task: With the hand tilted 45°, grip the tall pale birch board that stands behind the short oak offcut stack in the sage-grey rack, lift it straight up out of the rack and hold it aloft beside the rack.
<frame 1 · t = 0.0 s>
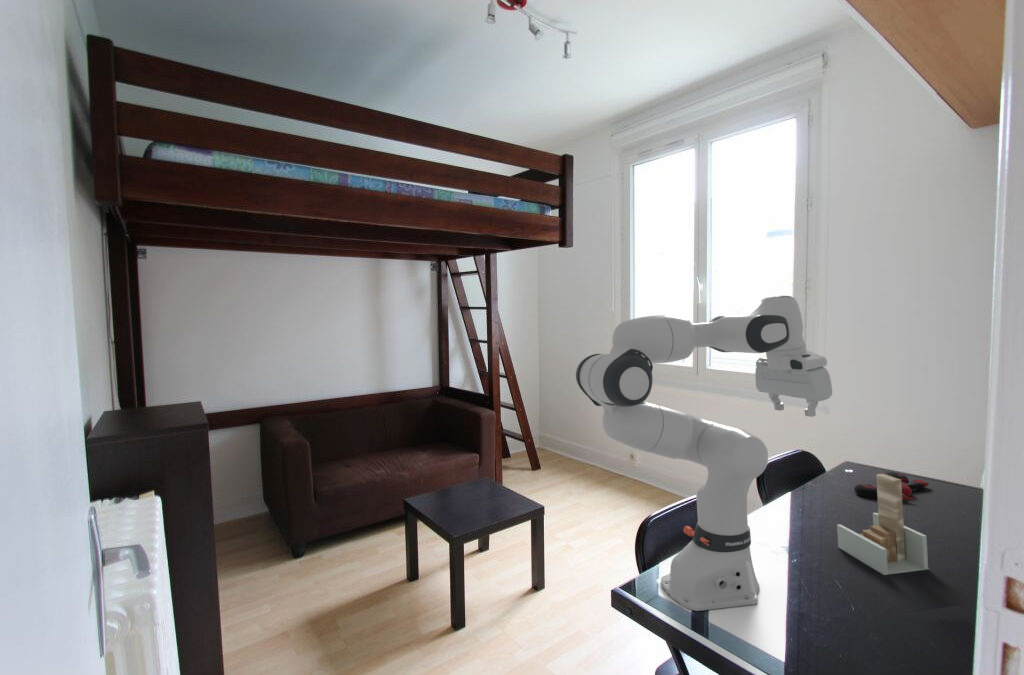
hand: (794, 412, 121), 39 cm above the table, tool pointing down, fingers open, 8 cm apart
toy motorcycle: (895, 493, 161), on the table
birch board: (892, 556, 120), point 1 cm above the table, touching offcut rack
offcut stack: (876, 558, 119), point 1 cm above the table, touching offcut rack
offcut rack: (881, 563, 119), on the table
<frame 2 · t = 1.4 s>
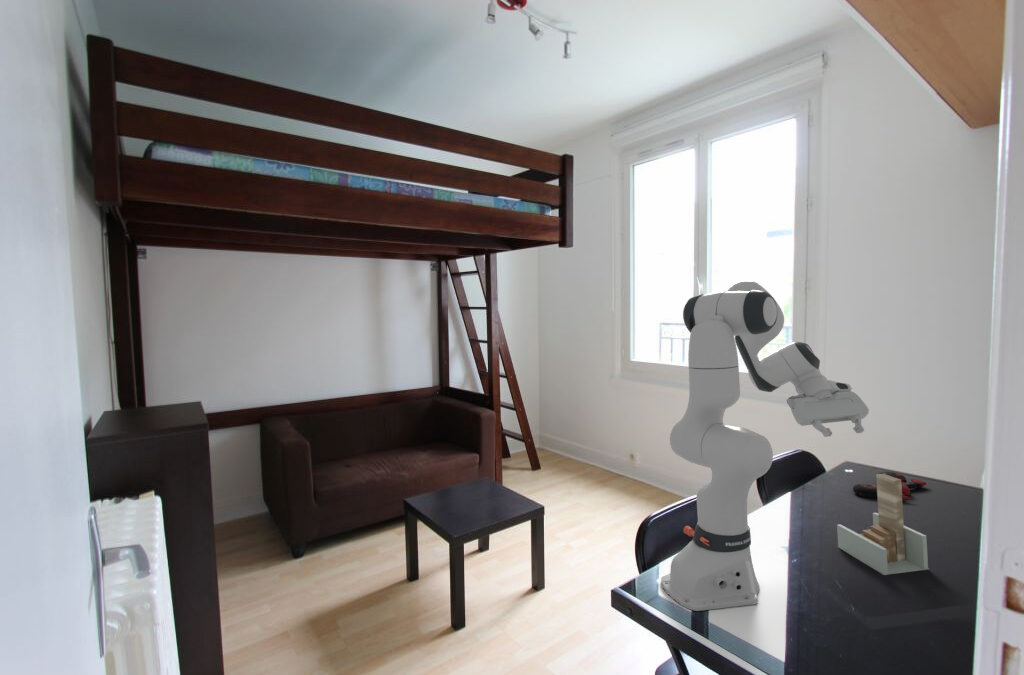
hand: (844, 433, 132), 29 cm above the table, tool tilted 45°, fingers open, 8 cm apart
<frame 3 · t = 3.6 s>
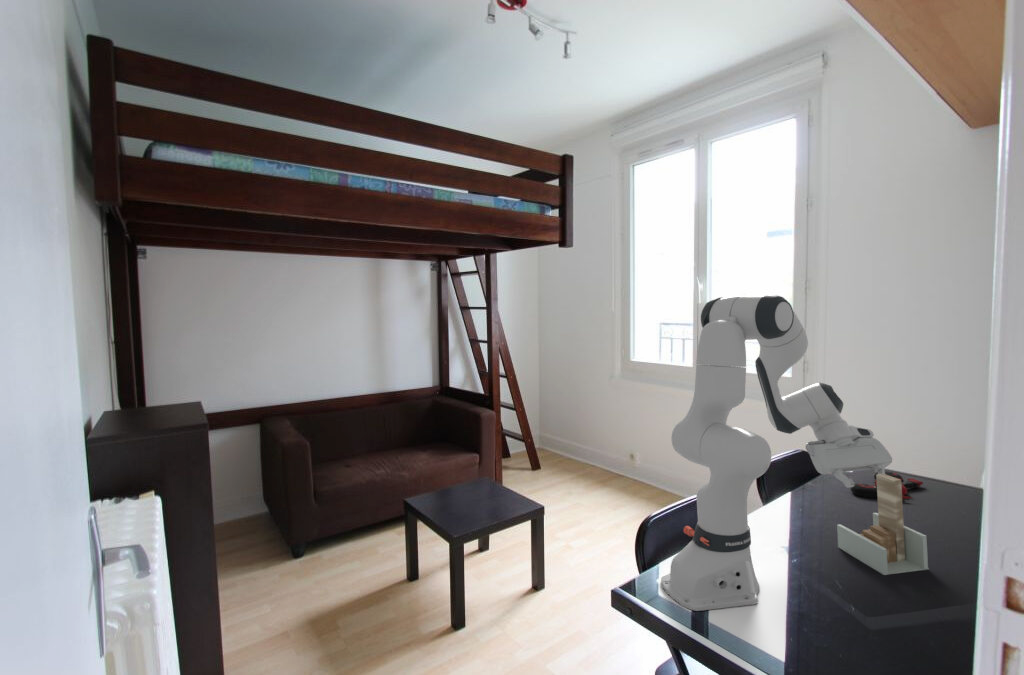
hand: (867, 484, 125), 17 cm above the table, tool tilted 45°, fingers open, 8 cm apart
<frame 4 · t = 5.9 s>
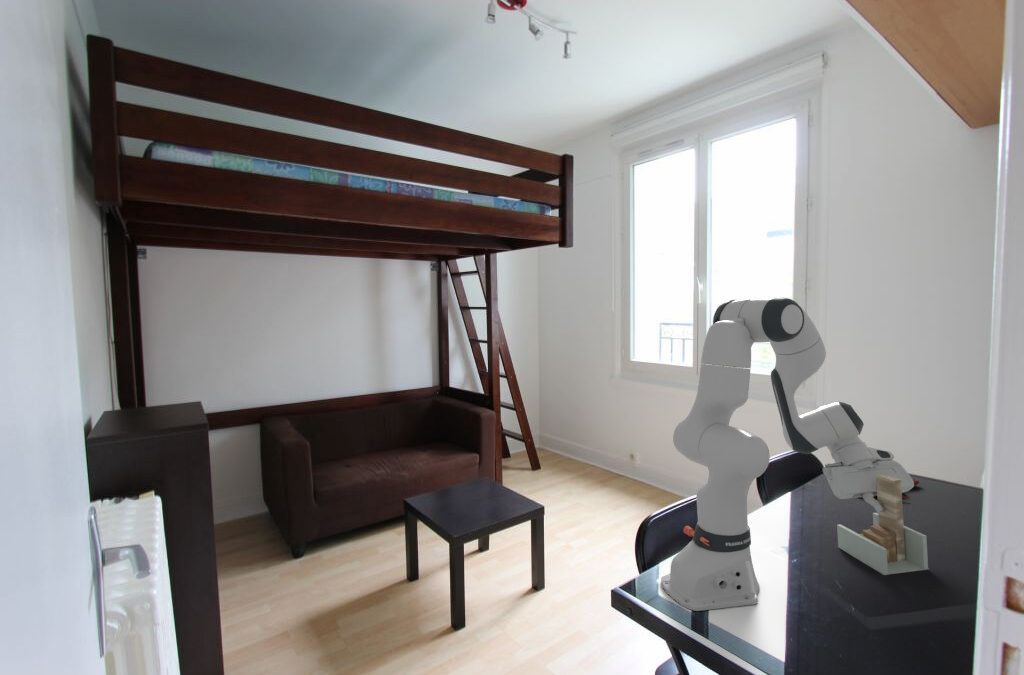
hand: (888, 510, 120), 13 cm above the table, tool tilted 45°, fingers closed on birch board, 2 cm apart
birch board: (892, 556, 120), point 2 cm above the table, touching gripper, offcut rack
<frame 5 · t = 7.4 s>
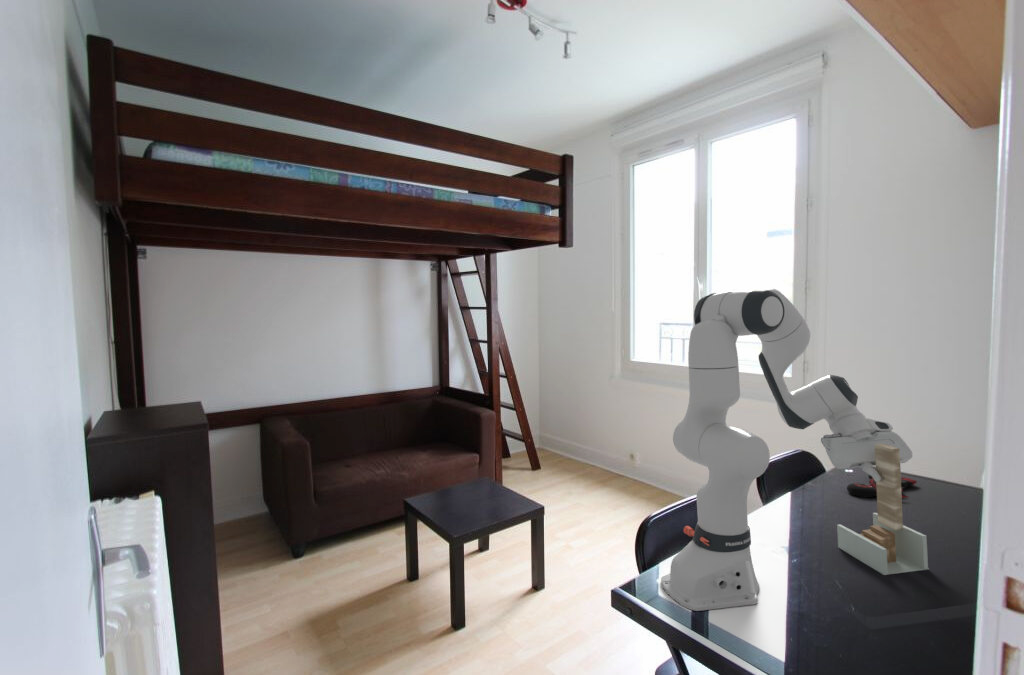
hand: (887, 480, 119), 21 cm above the table, tool tilted 45°, fingers closed on birch board
birch board: (890, 525, 119), point 9 cm above the table, touching gripper
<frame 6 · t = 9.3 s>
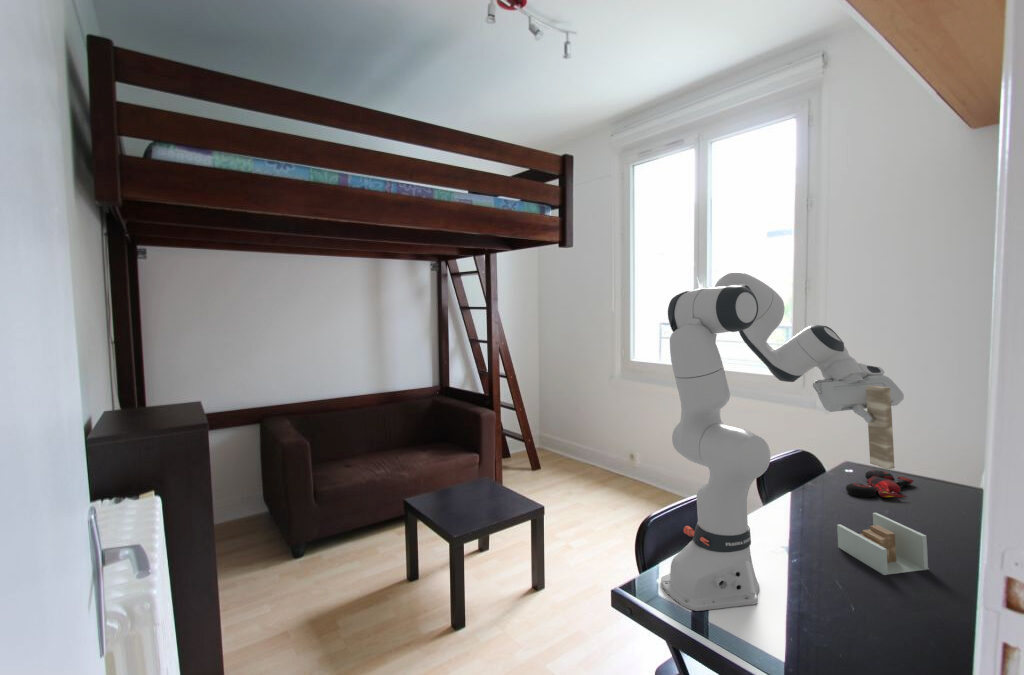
hand: (878, 420, 120), 35 cm above the table, tool tilted 45°, fingers closed on birch board
birch board: (882, 465, 120), point 24 cm above the table, touching gripper
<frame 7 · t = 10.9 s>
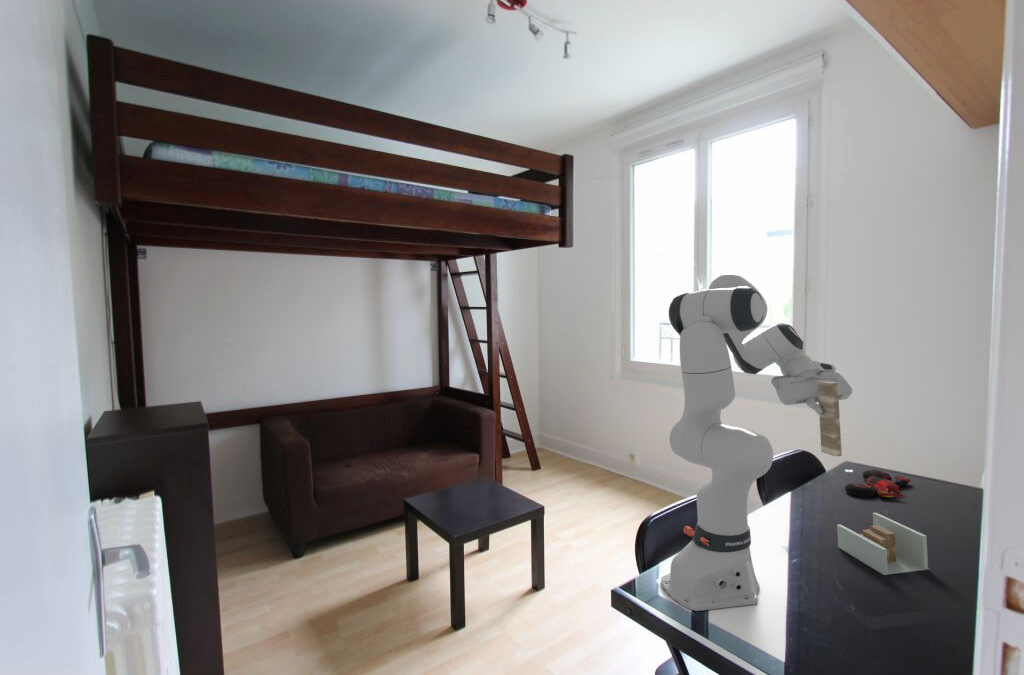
hand: (828, 412, 133), 35 cm above the table, tool tilted 45°, fingers closed on birch board
birch board: (831, 453, 133), point 24 cm above the table, touching gripper
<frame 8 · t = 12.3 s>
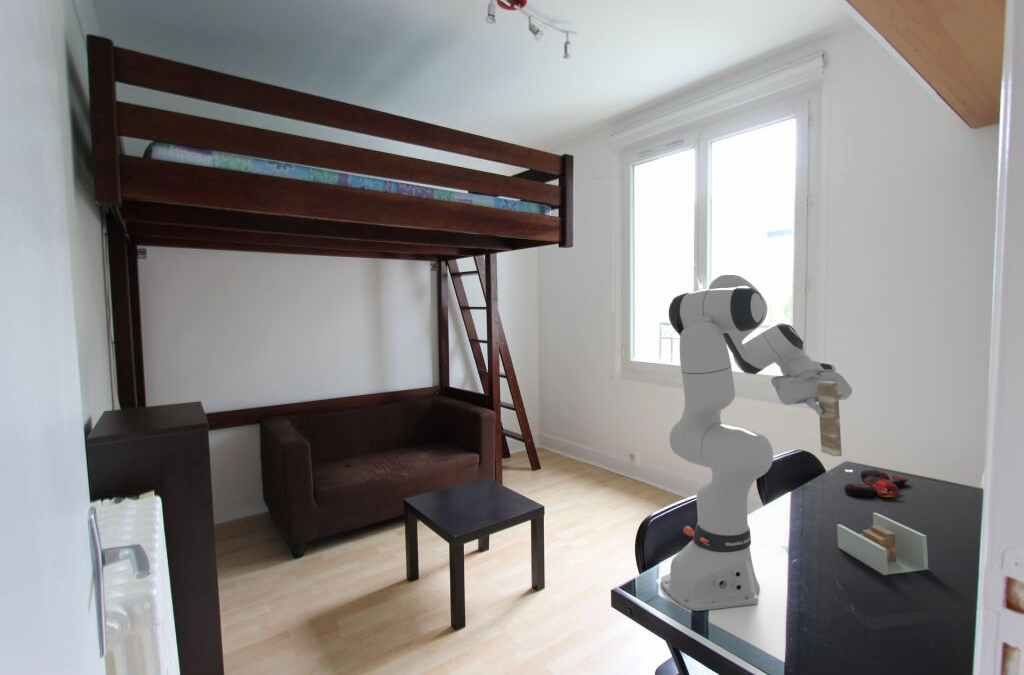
hand: (828, 412, 133), 35 cm above the table, tool tilted 45°, fingers closed on birch board
birch board: (831, 453, 133), point 24 cm above the table, touching gripper
at the end: birch board point 24.0 cm above the table; the gripper is holding birch board; offcut stack moved 0.0 cm from its start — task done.
